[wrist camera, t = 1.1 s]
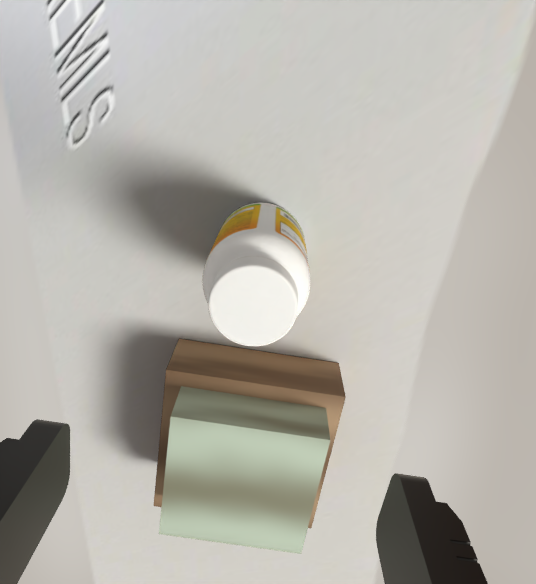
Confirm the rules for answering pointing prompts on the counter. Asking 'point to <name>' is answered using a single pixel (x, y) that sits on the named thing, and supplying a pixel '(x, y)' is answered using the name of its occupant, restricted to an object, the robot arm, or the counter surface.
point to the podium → (244, 444)
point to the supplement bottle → (257, 275)
